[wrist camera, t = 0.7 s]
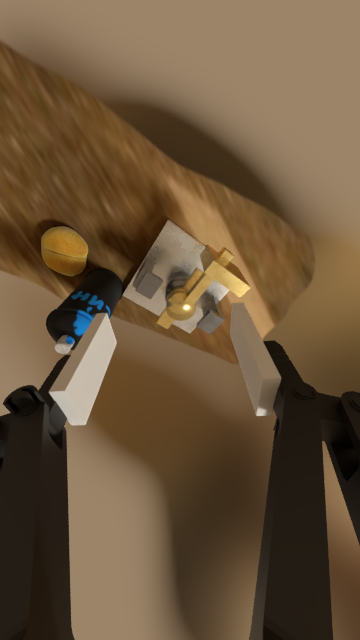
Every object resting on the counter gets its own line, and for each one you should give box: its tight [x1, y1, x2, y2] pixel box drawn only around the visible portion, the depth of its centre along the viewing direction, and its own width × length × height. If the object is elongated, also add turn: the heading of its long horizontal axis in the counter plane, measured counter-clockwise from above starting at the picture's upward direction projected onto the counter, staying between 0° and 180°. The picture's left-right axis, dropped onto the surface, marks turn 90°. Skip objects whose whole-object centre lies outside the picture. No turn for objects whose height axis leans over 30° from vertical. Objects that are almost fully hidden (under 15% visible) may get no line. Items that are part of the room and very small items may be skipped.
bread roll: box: [41, 226, 88, 276], centre depth 40 cm, size 8×9×4 cm
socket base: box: [123, 219, 229, 334], centre depth 41 cm, size 18×18×10 cm
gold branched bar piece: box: [156, 245, 250, 329], centre depth 34 cm, size 6×18×11 cm, turn 145°
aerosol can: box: [46, 269, 124, 354], centre depth 37 cm, size 8×8×20 cm
